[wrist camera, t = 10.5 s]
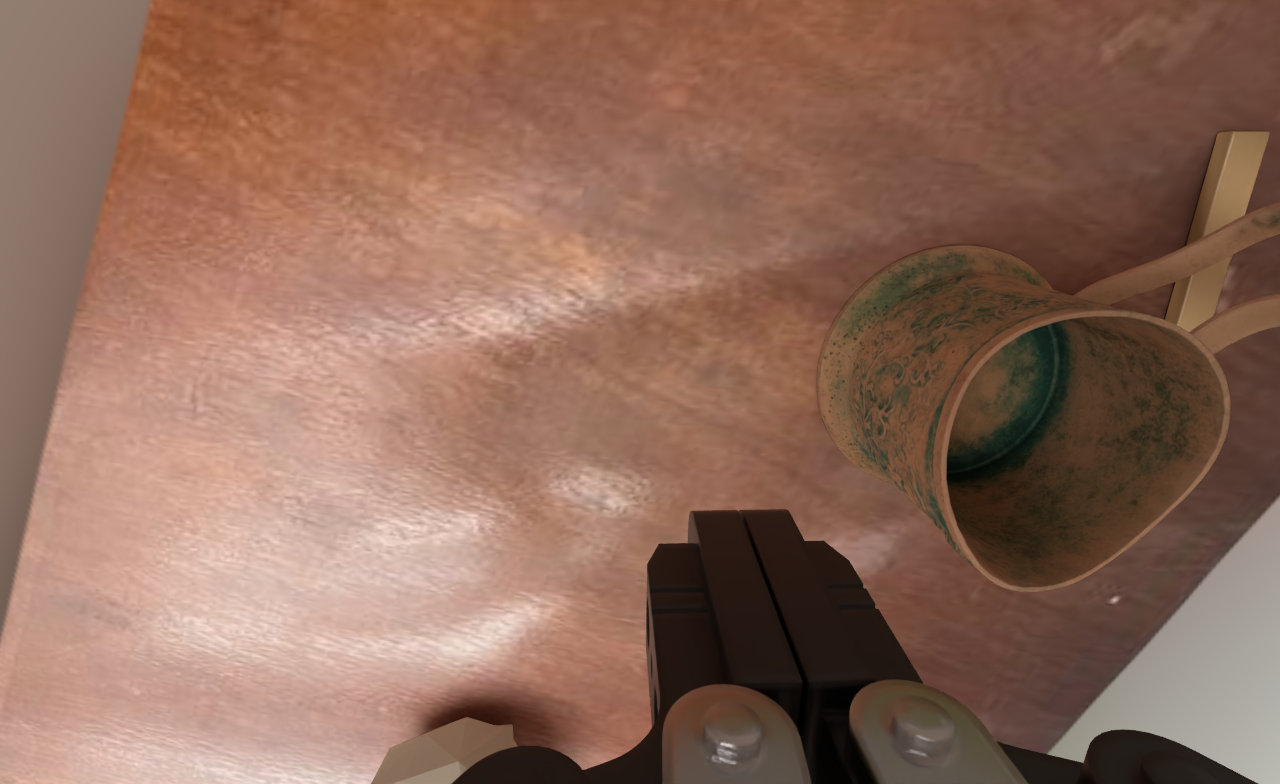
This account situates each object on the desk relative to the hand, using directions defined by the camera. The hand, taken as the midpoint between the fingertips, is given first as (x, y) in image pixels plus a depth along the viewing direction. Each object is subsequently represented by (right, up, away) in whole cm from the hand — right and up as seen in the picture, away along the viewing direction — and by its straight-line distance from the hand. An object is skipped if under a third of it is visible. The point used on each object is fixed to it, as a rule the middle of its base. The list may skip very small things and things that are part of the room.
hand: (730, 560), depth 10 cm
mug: (+15, +6, +19) cm, 25 cm away
